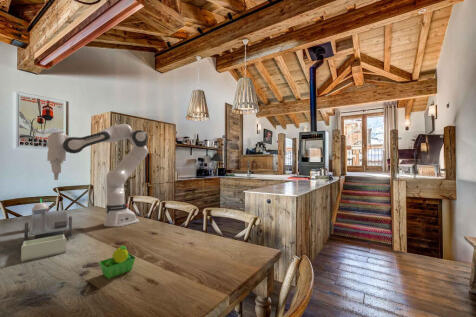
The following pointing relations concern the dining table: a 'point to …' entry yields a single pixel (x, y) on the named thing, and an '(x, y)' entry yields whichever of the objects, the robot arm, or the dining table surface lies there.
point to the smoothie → (41, 206)
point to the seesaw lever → (47, 221)
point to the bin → (43, 247)
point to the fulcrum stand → (48, 233)
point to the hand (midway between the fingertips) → (56, 179)
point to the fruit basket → (117, 263)
